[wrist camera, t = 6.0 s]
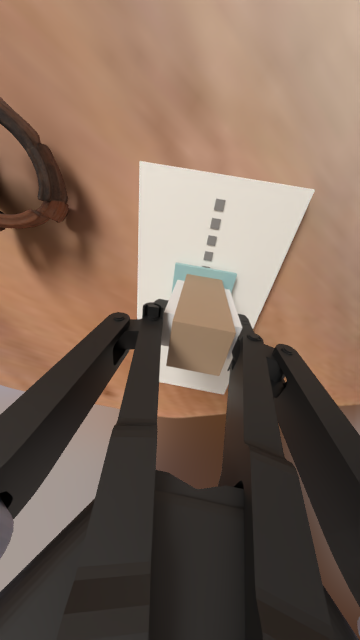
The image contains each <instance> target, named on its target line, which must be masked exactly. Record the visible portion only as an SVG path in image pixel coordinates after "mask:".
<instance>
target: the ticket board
mask: <svg viewBox="0 0 360 640" xmlns="http://www.w3.org/2000/svg"><path fill="white" fill-rule="evenodd" d="M314 191H315V189H309V188H302V187H296V186H290V185H284V184H278V183H272V182H265V181H259V180H253V179H247V178H241V177H235V176H229V175H222V174H216V173H210V172H204V171H198V170H192V169H186V168H179V167H173V166H167V165H161V164H155V163H149V162H142V161H140V174H139V236H138V298H137V319H142V313H143V305H144V304H146V303H149V302H155V301H156V300H157V299H164V300H169V299H170V296H171V294H172V286H173V278H174V270H175V264H176V262H177V263H183V264H188V265H194V266H199V267H205V268H211V269H216V270H222V271H228V272H233V273H236V274H237V277H236V280H235V283H234V286H233V289H232V292H231V295H232V298H233V301H234V304H235V307H236V310H237V313H238V314H242V315H245V316H246V317H247V318H248V319H249V322H250V324H251V326H252V329H253V328H254V326H255V323H256V321H257V319H258V317H259V314H260V312H261V310H262V308H263V305H264V303H265V301H266V299H267V296H268V294H269V292H270V290H271V287H272V285H273V283H274V281H275V278H276V276H277V274H278V272H279V270H280V267H281V265H282V263H283V261H284V258H285V256H286V254H287V252H288V249H289V247H290V245H291V243H292V240H293V238H294V236H295V234H296V231H297V229H298V227H299V225H300V222H301V220H302V218H303V216H304V213H305V211H306V209H307V207H308V204H309V202H310V200H311V198H312V195H313V193H314ZM168 349H169V347H168V346H163V345H161V354H160V373H159V382H162V383H167V384H172V385H177V386H182V387H188V388H193V389H198V390H203V391H208V392H213V393H218V394H223V395H224V393H225V391H226V388H227V386H228V384H229V375H230V370H229V371H227V370H228V368H229V365H230V363H231V361H232V358H233V356H232V354H231V356H230V358H229V359H227V358H226V360H225V363H224V365H223V368H222V370H221V373H220V376H215V375H210V374H205V373H200V372H195V371H190V370H185V369H180V368H174V367H169V366H166V363H167V356H168Z"/></svg>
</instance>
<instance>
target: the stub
mask: <svg viewBox="0 0 360 640" xmlns="http://www.w3.org/2000/svg"><path fill="white" fill-rule="evenodd" d="M236 277H237V274H236V273H233V272H228V271H222V270H216V269H211V268H205V267H199V266H194V265H188V264H183V263H177V262H176V264H175V270H174V278H173V286H172V292H173V289H174V287H175V284H176V282H177V280H182V281H184V285H183V288H182V291H181V295H180V298H179V301H178V305H177V308H176V311H175V315H174V318H173V321H172V328H171V335H170V342H169V349H168V356H167V363H166V366H169V367H174V368H180V369H185V370H190V371H195V372H200V373H205V374H210V375H215V376H220V373H221V370H222V368H223V365H224V363H225V360H226V358H227V355H228V352H229V350H230V347H231V345H232V342H233V340H234V337H235V334H236V331H235V327H234V323H233V319H232V316H231V312H230V308H229V304H228V301H227V297H226V293H225V289H229V290H230V292H232V289H233V286H234V283H235V280H236Z"/></svg>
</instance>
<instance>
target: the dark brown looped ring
mask: <svg viewBox="0 0 360 640" xmlns="http://www.w3.org/2000/svg"><path fill="white" fill-rule="evenodd" d="M0 124H1V125H3V126H4V127H5V128H6V129H7V130H9V131H10V132H11V133H12V134H13V135H14V137H15V138H16V139H17V140H18V141H19V142H20V144H21V145H22V146H23V148H24V149H25V150H26V152H27V154H28V156H29V157H30V159H31V161H32V163H33V165H34V167H35V170H36V173H37V177H38V183H39V193H38V199H39V200H42V201H44V202H43V203H42V205H41V207H40V208H39V209H37V210H36V211H35V210H32V209H29V210H27V211H25V212H23V213H19V214H13V215H9V214H4V213H3V212H1V211H0V231H2V230H5V228H18V229H20V228H28V227H35V226H39V225H41V224H43V223H45V222H47V221H48V220H49V219H52V220H55V221H57V222H58V223H60V222H61V221H63V220H64V218H65V217H66V215H67V213H68V210H69V208H68V204H66V202H67V201H68V196H67V192H66V188H65V185H64V181H63V178H62V175H61V172H60V170H59V167H58V165H57V163H56V161H55V159H54V157H53V155H52V153H51V151H50V149H49V148H48V146H47V145H44V144H41V142H40V138H39V135H38V133H37V132H36V131H35V130H34V129H33V128H32V127H31V126H30V125H29V124H28V123H27V122H26V121H25V120H24V119H23V118H22V117H21V116H20V115H19V114H17V113H16V112H15V111H14V110H13V109H12V108H11V107H10V106H9V105H8V104H7V103H6V102H5V101H4V100H3V99H2V98H1V97H0Z"/></svg>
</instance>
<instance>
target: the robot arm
mask: <svg viewBox="0 0 360 640" xmlns="http://www.w3.org/2000/svg"><path fill="white" fill-rule="evenodd" d="M183 285H184V281H182V280H177V282H176V284H175V287H174V289H173V292H172V294H171V296H170V299H169V300H164V299H157V300H156V301H155V302H149V303H146V304H144V305H143V313H142V319H136V320H130V317H129V315H127V314H125V313H121V312H117V313H113V314H111V315H109V316H108V317H107V318H106V319H105V320H104V321H103V322H101V323H100V324H99V325H98V326H97V327H96V328H95V329H94V330H93V331H92V332H90V333H89V334H88V335H87V336H86V337H85V338H84V339H83V340H82V341H81V342H80V343H78V344H77V345H76V346H75V347H74V348H73V349H72V350H71V351H70V352H69V353H68V354H66V355H65V356H64V357H63V358H62V359H61V360H60V361H59V362H58V363H57V364H55V365H54V366H53V367H52V368H51V369H50V370H49V371H48V372H47V373H46V374H45V375H43V376H42V377H41V378H40V379H39V380H38V381H37V382H36V383H35V384H34V385H32V386H31V387H30V388H29V389H28V390H27V391H26V392H25V393H24V394H23V395H22V396H20V397H19V398H18V399H17V400H16V401H15V402H14V403H13V404H12V405H11V406H9V407H8V408H7V409H6V410H5V411H4V412H3V413H2V414H1V415H0V558H1V557H2V555H3V554H4V552H5V550H6V548H7V546H8V544H9V542H10V540H11V536H12V533H13V523H14V522H13V519H14V518H15V517H16V516H17V515H18V513H19V512H20V511H21V510H22V509H23V507H24V506H25V505H26V504H27V502H28V501H29V500H30V499H31V497H32V496H33V495H34V494H35V492H36V491H37V490H38V488H39V487H40V485H41V484H42V483H43V481H44V479H45V478H46V477H47V475H48V474H49V472H50V471H51V469H52V468H53V466H54V465H55V463H56V462H57V460H58V459H59V457H60V456H61V454H62V453H63V451H64V450H65V448H66V447H67V445H68V443H69V442H70V440H71V439H72V437H73V435H74V434H75V433H76V431H77V430H78V428H79V427H80V425H81V424H82V422H83V420H84V419H85V418H86V416H87V414H88V413H89V411H90V410H91V408H92V407H93V405H94V404H95V402H96V401H97V399H98V398H99V396H100V395H101V393H102V392H103V390H104V389H105V387H106V385H107V384H108V382H109V381H110V379H111V378H112V376H113V375H114V373H115V372H116V370H117V369H118V367H119V366H120V364H121V363H122V361H123V360H124V358H125V356H126V355H127V353H128V352H129V350H130V349H135V350H134V354H133V358H132V362H131V367H130V371H129V375H128V379H127V383H126V388H125V392H124V396H123V400H122V404H121V408H120V413H119V417H118V421H117V423H116V425H115V426H114V428H113V430H112V434H111V437H110V441H109V445H108V449H107V453H106V457H105V461H104V465H103V469H102V473H101V477H100V481H99V485H98V489H97V493H96V497H95V499H94V500H93V501H92V502H91V503H90V504H89V505H88V506H87V507H86V508H85V509H84V510H83V511H82V512H81V513H80V514H79V515H78V516H77V517H76V518H75V519H74V520H73V521H72V522H71V523H70V524H68V525H67V527H66V528H64V529H63V530H62V531H61V533H59V534H58V536H56V538H54V539H53V540H52V541H51V542H50V543H49V544H48V545H47V546H46V547H45V548H44V549H43V550H42V551H41V552H40V553H39V554H38V555H37V556H36V557H35V558H34V559H33V560H32V561H31V562H30V563H29V564H28V565H27V566H26V567H25V568H24V569H23V570H22V571H21V572H20V573H19V574H18V575H17V576H16V577H15V578H14V579H13V580H12V581H11V582H10V583H9V584H8V585H7V586H6V587H5V588H4V589H3V590H2V591H1V592H0V640H359V639H358V638H357V636H356V635H355V633H354V632H353V630H352V629H351V627H350V626H349V624H348V622H347V621H346V619H345V618H344V617H343V615H342V613H341V612H340V610H339V609H338V607H337V606H336V604H335V603H334V601H333V600H332V598H331V597H330V595H329V594H328V592H327V591H326V589H325V588H324V586H323V585H322V581H321V576H320V573H319V567H318V563H317V559H316V554H315V549H314V545H313V541H312V536H311V531H310V527H309V522H308V518H307V514H306V509H305V504H304V500H303V495H302V491H301V487H300V482H299V477H298V474H297V471H296V468H295V467H294V466H293V464H292V463H291V462H289V461H287V460H286V459H285V457H284V453H283V448H282V443H281V437H280V431H279V426H280V428H281V430H282V433H283V435H284V438H285V440H286V443H287V445H288V448H289V450H290V453H291V455H292V457H293V460H294V462H295V465H296V467H297V470H298V472H299V475H300V477H301V480H302V482H303V484H304V487H305V489H306V492H307V494H308V497H309V499H310V502H311V504H312V507H313V509H314V511H315V514H316V516H317V519H318V521H319V524H320V526H321V529H322V531H323V534H324V536H325V538H326V540H327V543H328V545H329V547H330V550H331V552H332V554H333V556H334V559H335V561H336V563H337V565H338V567H339V569H340V571H341V573H342V575H343V577H344V579H345V581H346V583H347V585H348V587H349V589H350V591H351V592H352V594H353V596H354V598H355V599H356V601H357V603H358V605H359V607H360V435H359V434H358V432H357V431H356V430H355V429H354V427H353V426H352V425H351V423H350V422H349V421H348V419H347V418H346V416H345V415H344V414H343V412H342V411H341V410H340V409H339V407H338V406H337V404H336V403H335V402H334V400H333V399H332V398H331V396H330V395H329V394H328V392H327V391H326V390H325V388H324V387H323V386H322V384H321V383H320V382H319V380H318V379H317V378H316V376H315V375H314V374H313V372H312V371H311V370H310V368H309V367H308V366H307V364H306V363H305V362H304V360H303V359H302V358H301V356H300V355H299V354H298V352H297V351H296V350H295V349H293V348H292V347H290V346H288V345H284V344H278V345H276V347H275V348H273V347H270V346H268V345H265V344H264V342H263V339H262V338H261V337H260V336H259V335H257V334H255V333H254V331H253V329H252V326H251V324H250V322H249V319H248V318H247V317H246V316H245V315H242V314H238V313H237V310H236V307H235V304H234V301H233V298H232V295H231V292H230V290H229V289H225V293H226V297H227V301H228V304H229V308H230V312H231V316H232V319H233V323H234V327H235V331H236V334H235V337H234V340H233V342H232V345H231V347H230V350H229V352H228V355H227V359H229V358H230V356H231V354H232V356H233V358H232V361H231V363H230V365H229V368H228V370H227V371H229V370H230V375H229V388H228V401H227V413H226V427H225V439H224V451H223V464H222V472H221V477H220V480H219V484H218V487H212V488H207V489H195V488H193V487H192V486H190V485H188V484H187V483H185V482H183V481H181V480H180V479H178V478H176V477H174V476H173V475H171V474H170V473H167V472H163V471H158V470H155V469H156V449H157V410H158V391H159V373H160V354H161V345H163V346H168V347H169V342H170V335H171V328H172V321H173V318H174V315H175V311H176V308H177V305H178V301H179V298H180V295H181V291H182V288H183ZM285 376H286V379H287V382H285V381H284V377H285ZM278 423H279V426H278ZM357 623H358V632H359V635H360V617H359V619H358V621H357Z"/></svg>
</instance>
